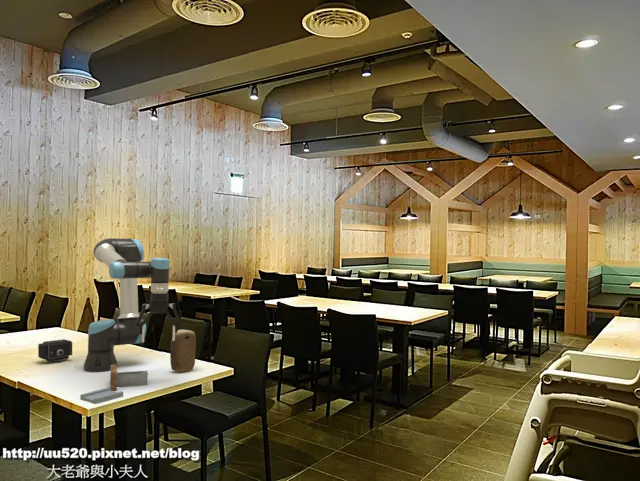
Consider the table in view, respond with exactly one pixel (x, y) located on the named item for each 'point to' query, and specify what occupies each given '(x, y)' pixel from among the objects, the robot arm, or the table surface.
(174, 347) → the stone
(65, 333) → the table surface
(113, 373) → the beam
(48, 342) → the camera
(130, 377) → the grey rectangular block
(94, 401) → the tray
